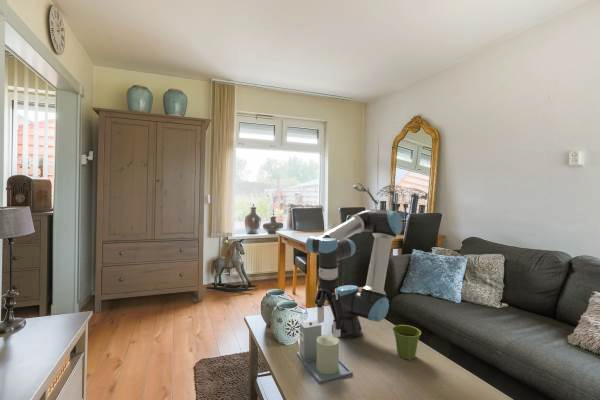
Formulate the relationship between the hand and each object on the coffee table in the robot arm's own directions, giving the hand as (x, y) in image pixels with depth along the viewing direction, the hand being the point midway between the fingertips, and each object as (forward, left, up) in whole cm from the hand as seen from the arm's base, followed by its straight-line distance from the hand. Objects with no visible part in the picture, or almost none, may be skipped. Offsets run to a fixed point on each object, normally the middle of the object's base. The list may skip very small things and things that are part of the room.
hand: (328, 329), depth 127 cm
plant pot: (-37, +4, -17) cm, 40 cm away
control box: (+2, -12, -16) cm, 20 cm away
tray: (0, 0, -16) cm, 16 cm away
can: (0, 0, -16) cm, 16 cm away
